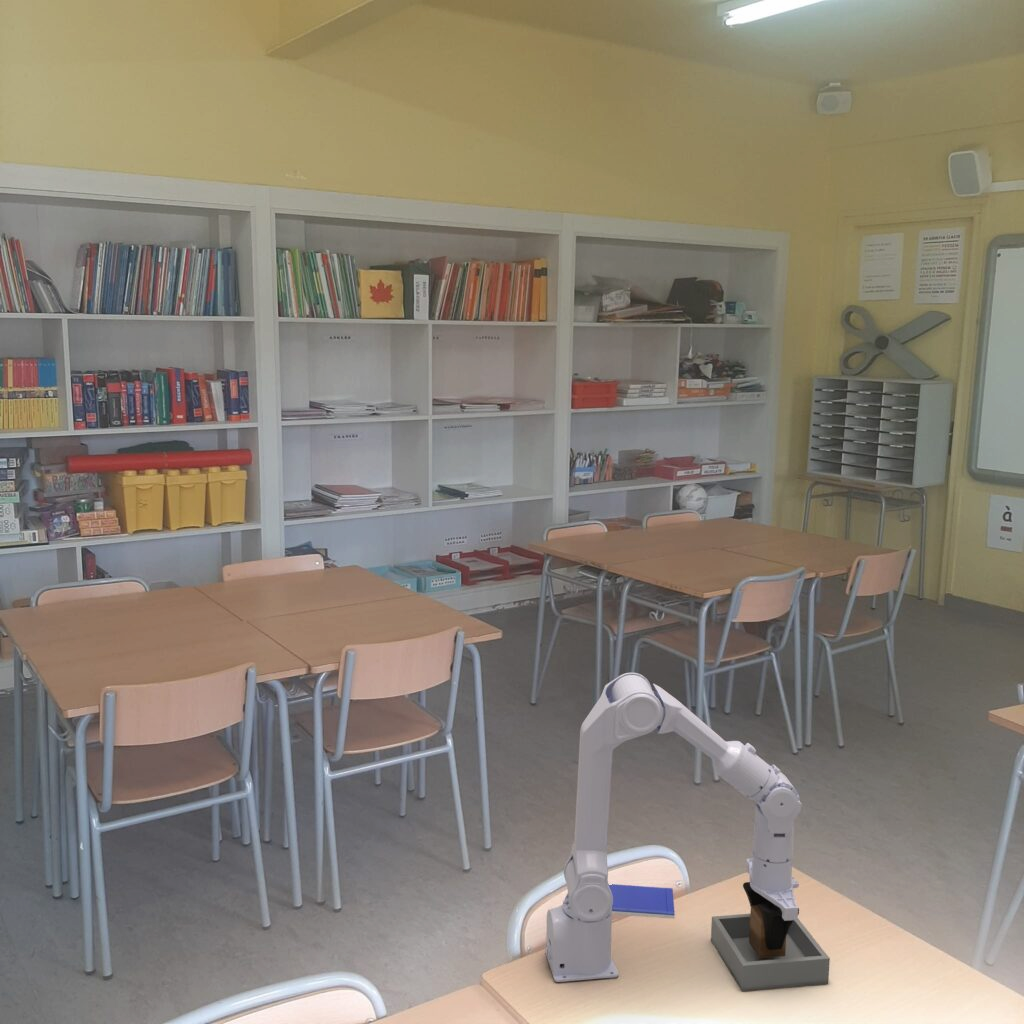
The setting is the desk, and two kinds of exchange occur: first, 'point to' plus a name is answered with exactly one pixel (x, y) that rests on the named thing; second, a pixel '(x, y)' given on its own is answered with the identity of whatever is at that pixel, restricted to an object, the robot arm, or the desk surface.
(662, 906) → the hard drive
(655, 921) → the desk surface
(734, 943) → the grey bin
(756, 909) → the walnut block
